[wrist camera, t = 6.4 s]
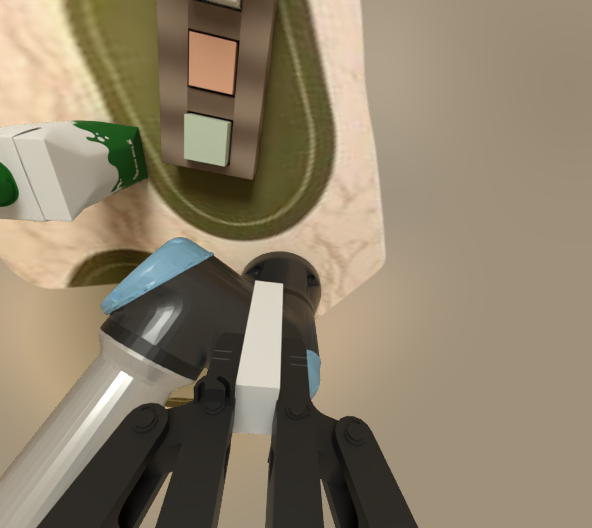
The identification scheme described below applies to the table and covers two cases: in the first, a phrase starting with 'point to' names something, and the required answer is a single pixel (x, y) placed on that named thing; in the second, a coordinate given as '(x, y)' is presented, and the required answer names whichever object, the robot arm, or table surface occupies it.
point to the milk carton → (65, 167)
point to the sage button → (207, 139)
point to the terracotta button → (213, 63)
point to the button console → (190, 99)
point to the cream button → (226, 4)
